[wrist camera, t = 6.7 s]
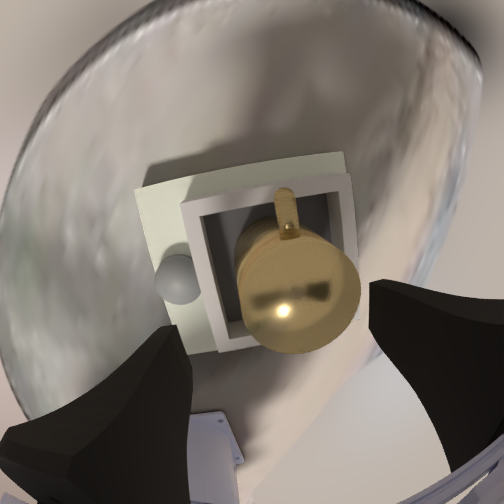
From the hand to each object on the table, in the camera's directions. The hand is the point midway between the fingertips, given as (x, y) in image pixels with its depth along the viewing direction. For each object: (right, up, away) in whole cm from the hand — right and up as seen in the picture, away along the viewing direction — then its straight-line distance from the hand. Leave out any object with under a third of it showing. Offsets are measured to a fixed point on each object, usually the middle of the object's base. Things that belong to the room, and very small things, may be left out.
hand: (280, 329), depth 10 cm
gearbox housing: (-1, +3, +8) cm, 8 cm away
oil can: (0, +2, +6) cm, 7 cm away
